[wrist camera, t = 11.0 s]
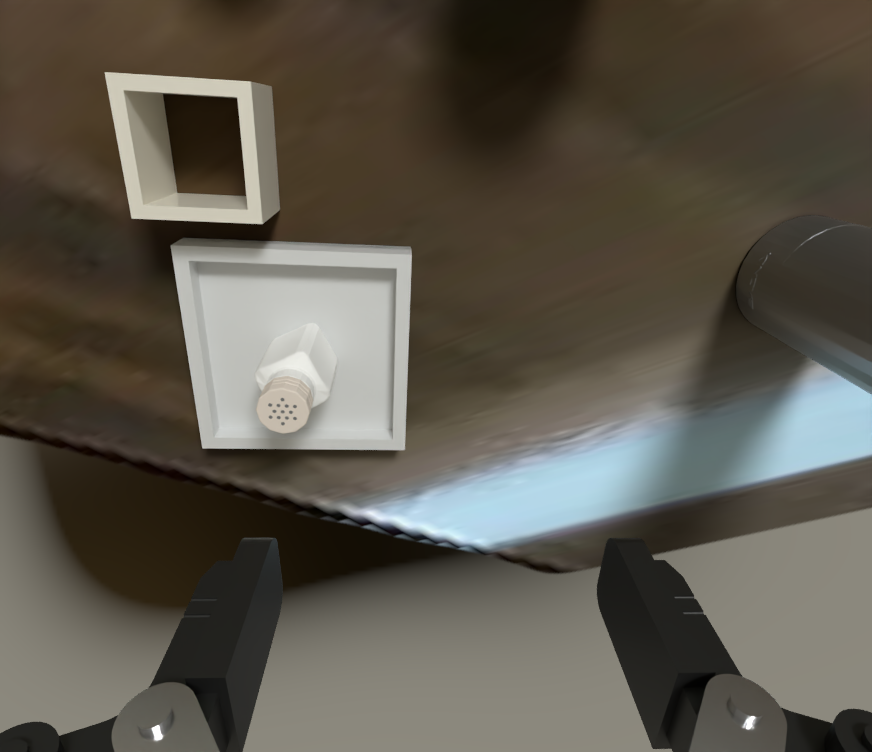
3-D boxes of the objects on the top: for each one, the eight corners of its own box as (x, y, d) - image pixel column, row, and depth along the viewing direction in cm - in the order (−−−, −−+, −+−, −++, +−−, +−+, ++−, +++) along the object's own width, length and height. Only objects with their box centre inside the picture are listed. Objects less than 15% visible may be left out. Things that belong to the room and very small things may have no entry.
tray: (410, 246, 39) (411, 254, 37) (404, 433, 46) (404, 450, 44) (183, 237, 38) (170, 245, 36) (212, 431, 45) (202, 448, 43)
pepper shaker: (316, 317, 40) (294, 372, 32) (341, 361, 42) (328, 424, 33) (269, 338, 41) (235, 398, 32) (296, 381, 42) (271, 448, 34)
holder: (271, 86, 34) (250, 81, 29) (280, 209, 38) (262, 224, 33) (147, 78, 34) (104, 72, 29) (167, 204, 37) (131, 218, 32)
